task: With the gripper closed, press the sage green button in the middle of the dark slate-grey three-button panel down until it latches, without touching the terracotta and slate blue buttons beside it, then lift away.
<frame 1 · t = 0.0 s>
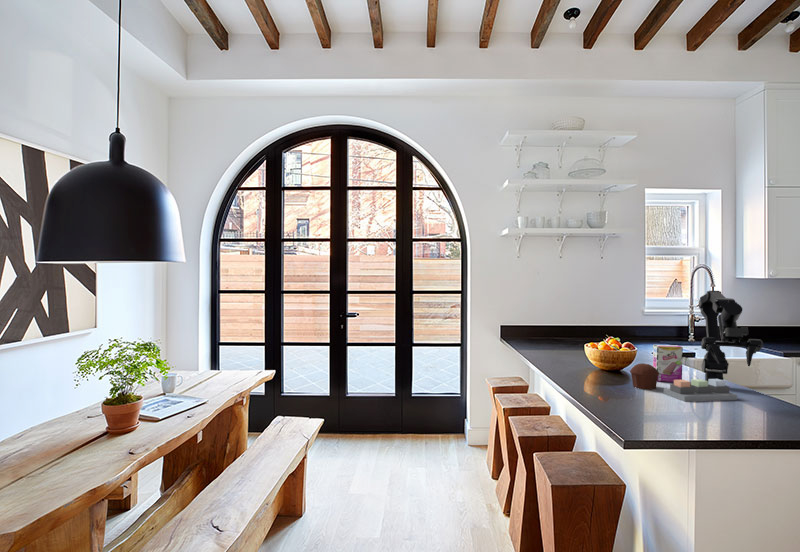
hand: (734, 365, 173), 15 cm above the table, tool tilted 35°, fingers open, 9 cm apart
slate button: (716, 383, 186), point 5 cm above the table, slide at 0.0 cm
muffin: (644, 387, 201), on the table
terracotta button: (681, 384, 184), point 5 cm above the table, slide at 0.0 cm
candy bar box: (667, 381, 213), on the table
sage button: (699, 384, 185), point 5 cm above the table, slide at 0.0 cm
button panel: (699, 396, 185), on the table
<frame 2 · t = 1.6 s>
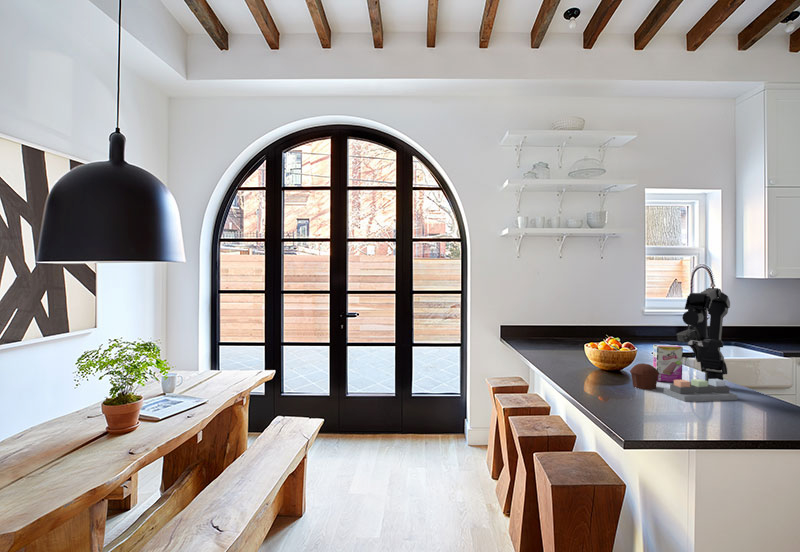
hand: (698, 362, 189), 13 cm above the table, tool pointing down, fingers closed
nothing on the table moved.
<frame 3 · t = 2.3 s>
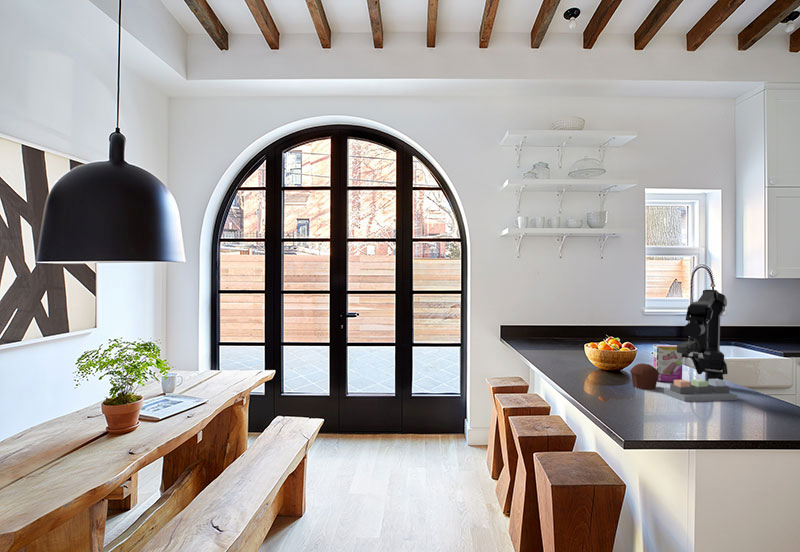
hand: (699, 374, 185), 9 cm above the table, tool pointing down, fingers closed
nothing on the table moved.
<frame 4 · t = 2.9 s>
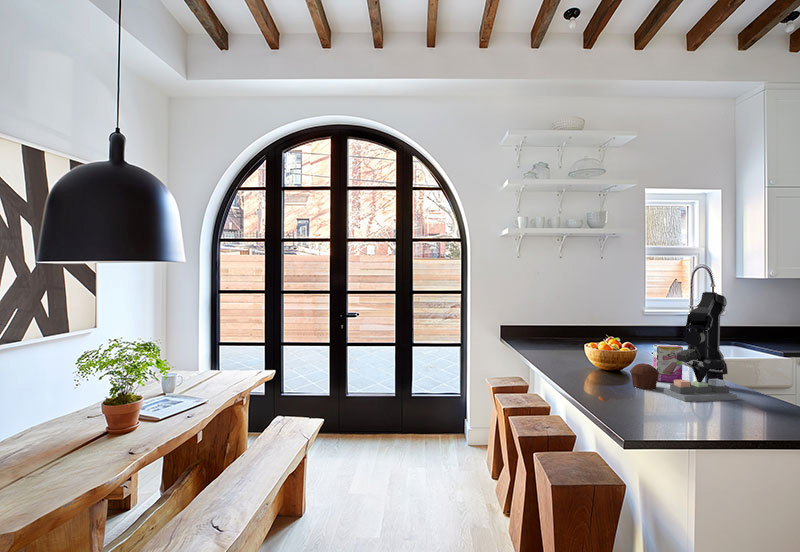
hand: (699, 382, 185), 6 cm above the table, tool pointing down, fingers closed, pressing on sage button
sage button: (699, 386, 185), point 4 cm above the table, slide at 0.8 cm, touching gripper
everything else where it was.
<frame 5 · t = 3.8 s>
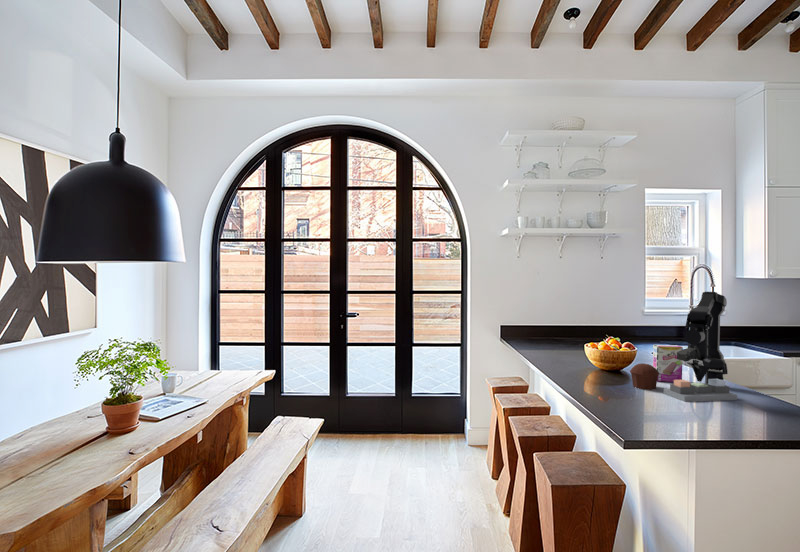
hand: (699, 381, 185), 6 cm above the table, tool pointing down, fingers closed
sage button: (699, 387, 185), point 4 cm above the table, slide at 1.5 cm
everything else where it was.
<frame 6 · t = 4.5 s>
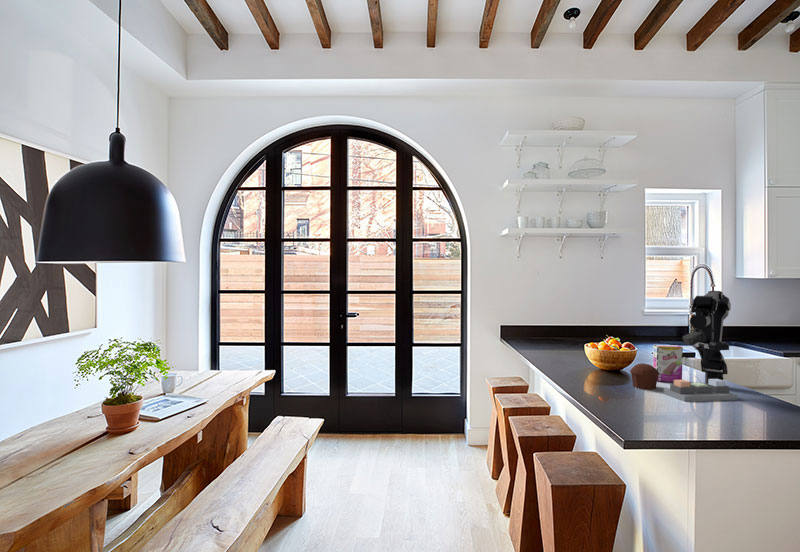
hand: (705, 364, 191), 12 cm above the table, tool pointing down, fingers closed
nothing on the table moved.
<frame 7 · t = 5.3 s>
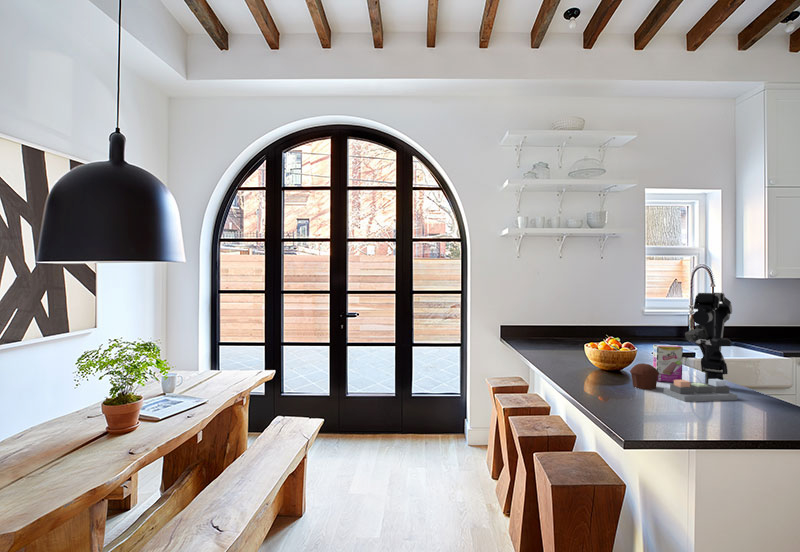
hand: (706, 360, 193), 13 cm above the table, tool pointing down, fingers closed
nothing on the table moved.
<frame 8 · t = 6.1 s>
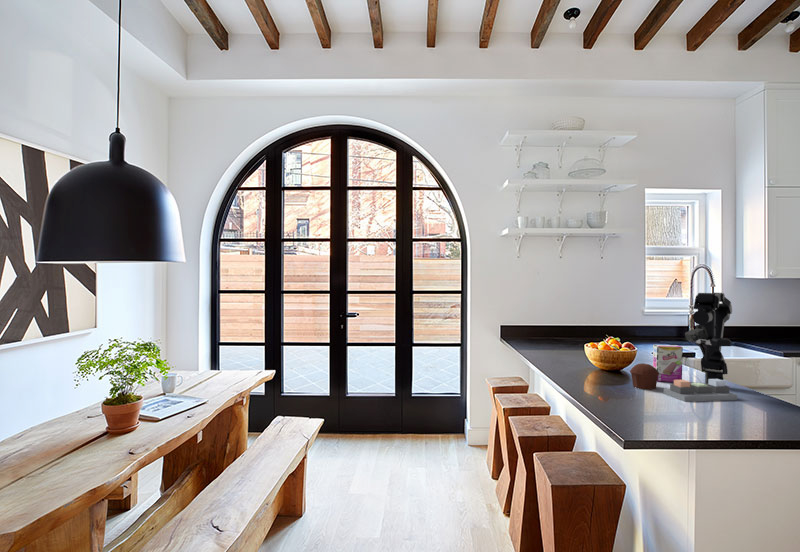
hand: (706, 360, 193), 13 cm above the table, tool pointing down, fingers closed
nothing on the table moved.
at the end: sage button slide at 1.5 cm; terracotta button slide at 0.0 cm; slate button slide at 0.0 cm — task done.
